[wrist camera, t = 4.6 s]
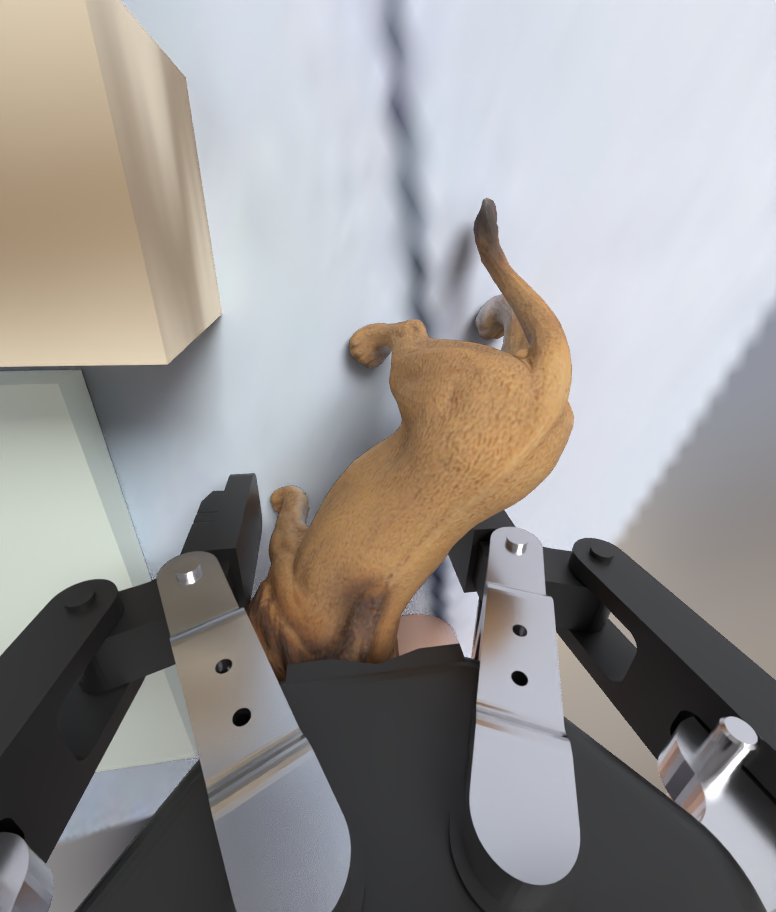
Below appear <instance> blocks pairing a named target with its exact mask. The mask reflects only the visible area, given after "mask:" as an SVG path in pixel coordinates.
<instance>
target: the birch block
mask: <svg viewBox="0 0 776 912" xmlns="http://www.w3.org/2000/svg"><path fill="white" fill-rule="evenodd" d="M221 314H222V311H221V304H220V298H219V291H218V285H217V278H216V272H215V265H214V259H213V252H212V246H211V239H210V233H209V226H208V220H207V213H206V207H205V200H204V194H203V188H202V181H201V175H200V168H199V162H198V155H197V149H196V142H195V136H194V129H193V123H192V116H191V110H190V103H189V97H188V90H187V84H186V77H185V76H184V75H183V74H182V73H181V71H180V70H179V69H178V68H177V67H176V66H175V64H174V63H173V62H172V61H171V60H170V59H169V57H168V56H167V55H166V54H165V53H164V51H163V50H162V49H161V48H160V47H159V46H158V44H157V43H156V42H155V41H154V40H153V39H152V37H151V36H150V35H149V34H148V33H147V32H146V30H145V29H144V28H143V27H142V26H141V24H140V23H139V22H138V21H137V20H136V19H135V17H134V16H133V15H132V14H131V13H130V12H129V10H128V9H127V8H126V7H125V6H124V5H123V3H122V2H121V1H120V0H0V367H15V366H94V365H168V364H169V363H170V362H171V361H172V360H173V359H174V358H175V357H176V356H177V355H178V354H180V353H181V352H182V351H183V350H184V349H185V348H186V347H187V346H188V345H189V344H190V343H191V342H192V341H193V340H195V339H196V338H197V337H198V336H199V335H200V334H201V333H202V332H203V331H204V330H205V329H206V328H207V327H209V326H210V325H211V324H212V323H213V322H214V321H215V320H216V319H217V318H218V317H219V316H220V315H221Z"/></svg>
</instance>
